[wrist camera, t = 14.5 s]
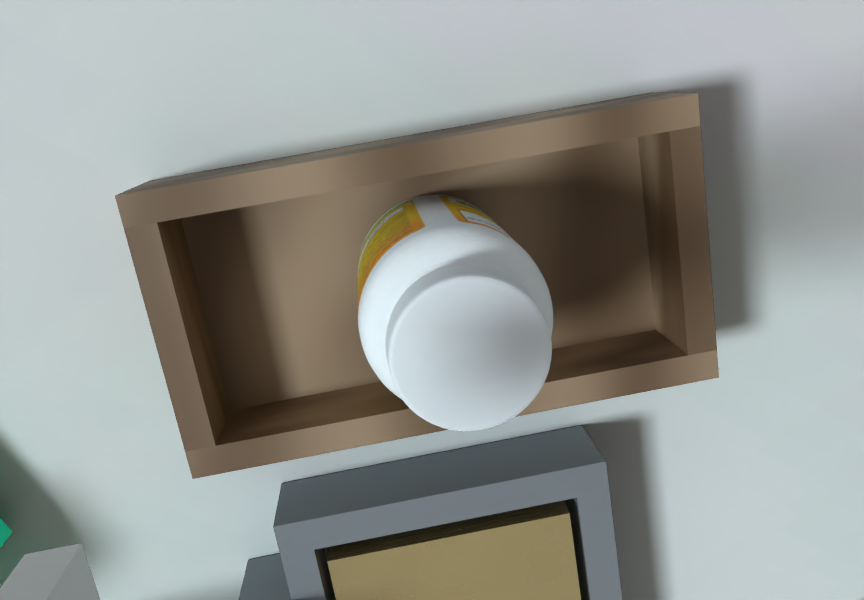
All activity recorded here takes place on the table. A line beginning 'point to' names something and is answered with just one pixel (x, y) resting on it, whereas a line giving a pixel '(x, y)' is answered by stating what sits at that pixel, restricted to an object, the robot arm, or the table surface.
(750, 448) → the table surface
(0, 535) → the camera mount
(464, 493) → the grey stepped block
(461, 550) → the contact pad
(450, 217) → the supplement bottle
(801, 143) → the table surface
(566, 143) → the trough
